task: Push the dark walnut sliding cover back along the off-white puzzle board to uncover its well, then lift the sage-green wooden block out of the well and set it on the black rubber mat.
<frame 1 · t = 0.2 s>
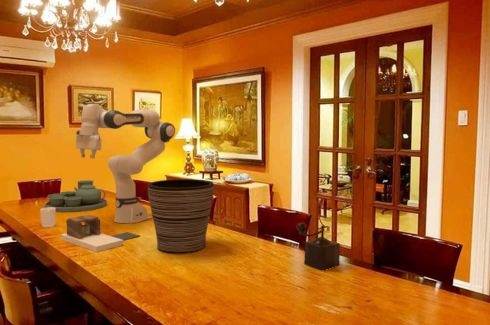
hand: (87, 157, 222), 39 cm above the table, tool pointing down, fingers open, 8 cm apart
puzzle board: (91, 242, 198), on the table
block: (83, 239, 202), resting in puzzle board
white cup: (48, 226, 230), on the table
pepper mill: (316, 266, 166), on the table
mat: (124, 236, 208), on the table
tea set: (76, 207, 286), on the table
planter pot: (181, 247, 191), on the table
cover: (83, 226, 202), point 7 cm above the table, slide at 0.0 cm
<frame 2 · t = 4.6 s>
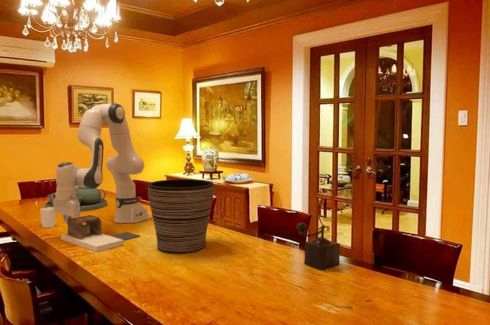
hand: (67, 223, 202), 8 cm above the table, tool pointing down, fingers closed
cover: (84, 226, 201), point 7 cm above the table, slide at 1.0 cm, touching gripper
everything else where it was.
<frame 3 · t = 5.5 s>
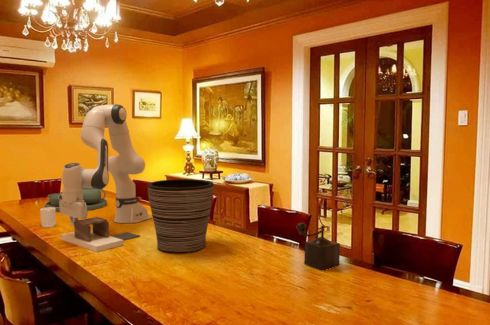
hand: (73, 225, 198), 8 cm above the table, tool pointing down, fingers closed
cover: (91, 228, 197), point 7 cm above the table, slide at 7.5 cm, touching gripper
everything else where it was.
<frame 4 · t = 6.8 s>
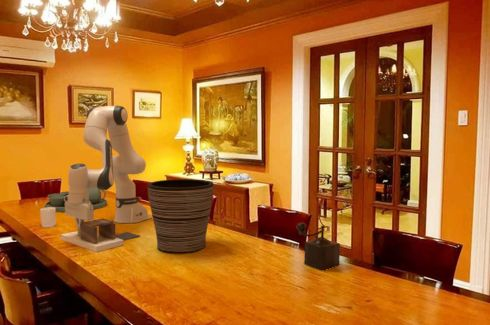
hand: (79, 227, 195), 8 cm above the table, tool pointing down, fingers closed
cover: (97, 230, 194), point 7 cm above the table, slide at 13.0 cm, touching gripper
everything else where it was.
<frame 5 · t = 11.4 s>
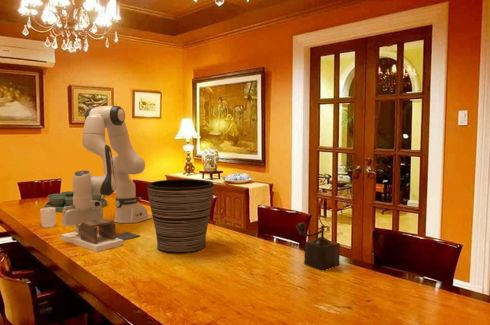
hand: (83, 231, 202), 4 cm above the table, tool pointing down, fingers closed on block, 4 cm apart
block: (83, 239, 202), resting in puzzle board, touching gripper
cover: (97, 230, 194), point 7 cm above the table, slide at 13.0 cm
everything else where it was.
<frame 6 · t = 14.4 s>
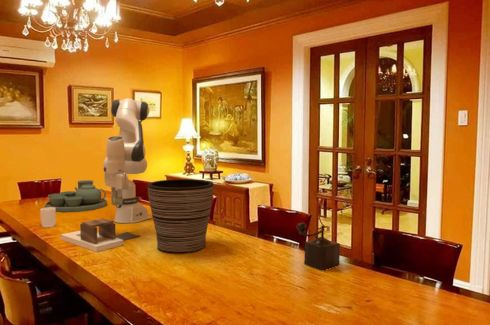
hand: (116, 196, 205), 21 cm above the table, tool pointing down, fingers closed on block, 4 cm apart
block: (117, 204, 206), point 17 cm above the table, touching gripper
everything else where it was.
when the fingers open (6 cm above the table, at t = 17.9 s): block drops 1 cm, resting on mat.
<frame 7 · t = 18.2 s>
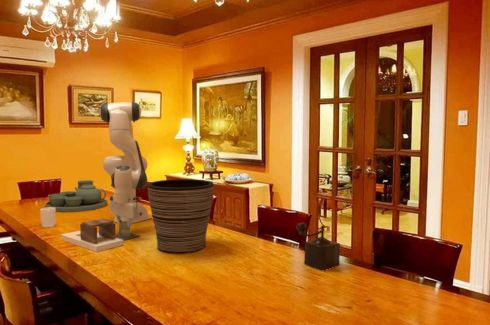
hand: (124, 225, 207), 6 cm above the table, tool pointing down, fingers open, 6 cm apart
block: (124, 235, 208), resting on mat
everything else where it was.
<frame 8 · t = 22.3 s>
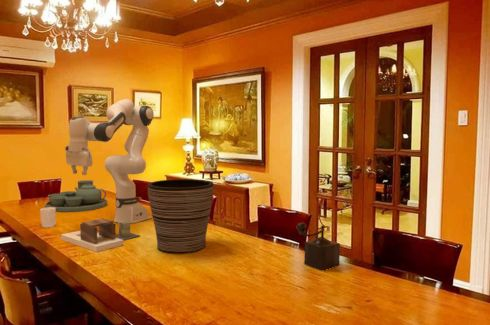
hand: (79, 174, 212), 31 cm above the table, tool pointing down, fingers open, 8 cm apart
nothing on the table moved.
at the end: cover slide at 13.0 cm; block inside the target area on the mat (0.1 cm from its centre), point 0.5 cm above the mat's base; block tilted 0° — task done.
